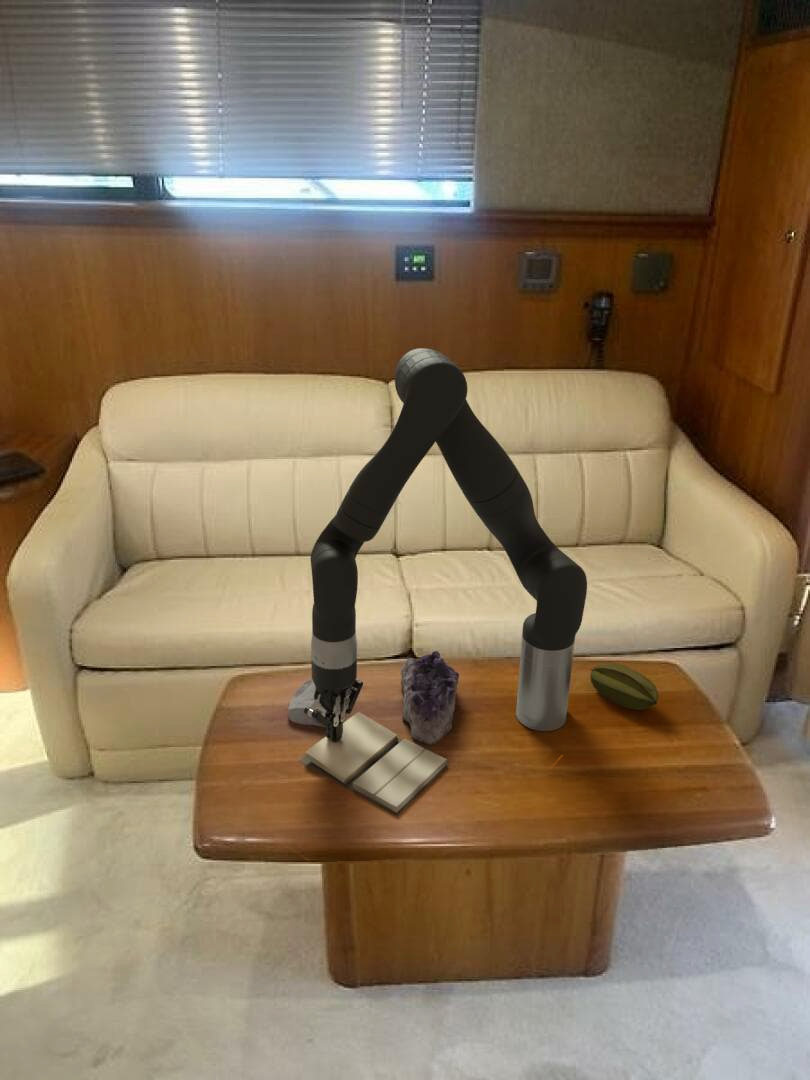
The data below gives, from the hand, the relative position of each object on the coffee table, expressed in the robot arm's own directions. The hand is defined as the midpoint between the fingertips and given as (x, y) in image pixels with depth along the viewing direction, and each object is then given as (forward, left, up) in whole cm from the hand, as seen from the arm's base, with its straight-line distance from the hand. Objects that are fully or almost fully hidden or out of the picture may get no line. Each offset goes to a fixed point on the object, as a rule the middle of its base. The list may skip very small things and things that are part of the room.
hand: (334, 738), depth 137 cm
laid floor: (-1, +8, -2) cm, 8 cm away
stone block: (-7, -11, -3) cm, 13 cm away
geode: (-19, +7, -3) cm, 20 cm away
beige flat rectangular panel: (-1, +3, -2) cm, 4 cm away
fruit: (-44, +34, -3) cm, 56 cm away
